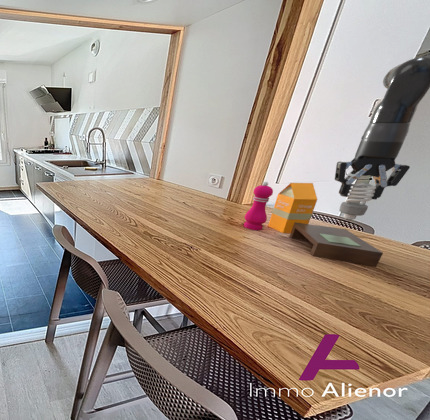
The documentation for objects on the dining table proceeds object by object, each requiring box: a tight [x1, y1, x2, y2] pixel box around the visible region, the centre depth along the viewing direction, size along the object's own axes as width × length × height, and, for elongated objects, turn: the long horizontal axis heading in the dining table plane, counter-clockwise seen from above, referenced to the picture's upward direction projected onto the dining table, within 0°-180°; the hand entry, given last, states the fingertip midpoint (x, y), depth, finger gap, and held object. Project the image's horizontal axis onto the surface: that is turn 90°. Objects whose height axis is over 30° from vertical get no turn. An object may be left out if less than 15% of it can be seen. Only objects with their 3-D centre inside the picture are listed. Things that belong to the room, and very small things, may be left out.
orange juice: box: [267, 182, 318, 234], centre depth 99 cm, size 8×9×20 cm
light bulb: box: [339, 182, 376, 221], centre depth 74 cm, size 6×6×12 cm
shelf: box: [289, 222, 384, 268], centre depth 83 cm, size 14×20×6 cm
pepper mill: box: [243, 181, 274, 231], centre depth 100 cm, size 7×7×20 cm
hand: (357, 197), depth 74 cm, fingers closed on light bulb, 5 cm apart
